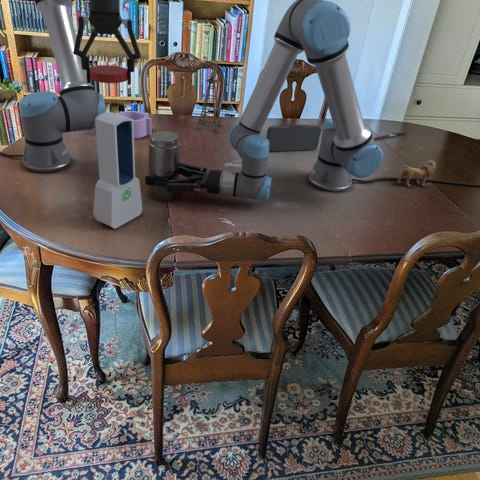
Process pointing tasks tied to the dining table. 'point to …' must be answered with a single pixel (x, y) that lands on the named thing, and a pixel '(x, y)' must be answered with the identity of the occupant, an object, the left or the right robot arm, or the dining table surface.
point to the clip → (139, 122)
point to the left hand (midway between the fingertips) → (109, 82)
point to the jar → (163, 162)
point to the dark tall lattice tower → (211, 81)
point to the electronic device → (116, 171)
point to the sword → (388, 135)
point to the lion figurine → (418, 173)
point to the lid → (108, 74)
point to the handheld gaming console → (293, 137)
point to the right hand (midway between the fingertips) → (150, 173)
